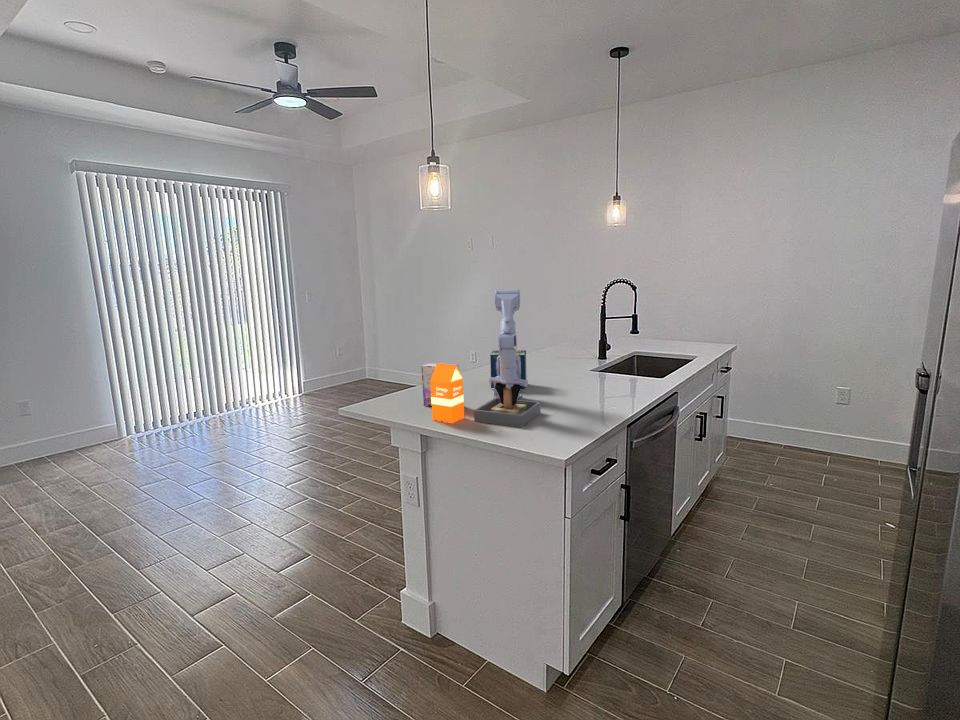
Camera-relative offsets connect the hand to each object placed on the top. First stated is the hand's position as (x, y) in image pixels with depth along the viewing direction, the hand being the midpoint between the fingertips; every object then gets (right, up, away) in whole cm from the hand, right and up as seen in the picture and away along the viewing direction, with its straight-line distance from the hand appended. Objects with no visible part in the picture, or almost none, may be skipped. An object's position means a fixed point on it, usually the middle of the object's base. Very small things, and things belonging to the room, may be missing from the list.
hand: (508, 403), depth 187 cm
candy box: (-25, -2, +15) cm, 29 cm away
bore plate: (0, -4, +1) cm, 4 cm away
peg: (0, -2, +1) cm, 3 cm away
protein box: (+3, +4, +42) cm, 43 cm away
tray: (0, -4, -2) cm, 5 cm away
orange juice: (-22, -5, -3) cm, 23 cm away
